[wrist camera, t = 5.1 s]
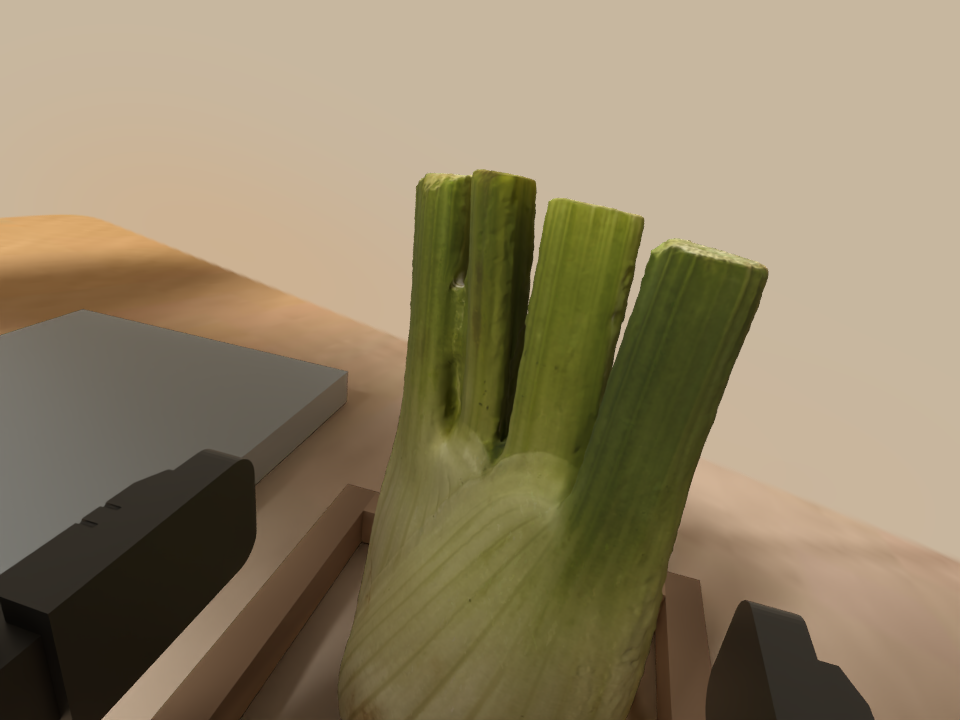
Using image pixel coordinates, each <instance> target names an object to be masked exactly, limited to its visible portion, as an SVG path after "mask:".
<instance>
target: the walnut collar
mask: <svg viewBox="0 0 960 720" xmlns="http://www.w3.org/2000/svg"><path fill="white" fill-rule="evenodd" d="M379 495H380V493H379V492H375V491H372V490H368V489H364V488H361V487H357V486H354V485H350V484H348V485H347V486H346V487H345V488H344V489H343V491H342V492H341V493H340V494H339V495H338V497H337V498H336V499H335V500H334V501H333V503H332V504H331V505H330V506H329V507H328V509H327V510H326V511H325V512H324V513H323V515H322V516H321V517H320V518H319V519H318V521H317V522H316V523H315V524H314V525H313V527H312V528H311V529H310V530H309V531H308V533H307V534H306V535H305V536H304V537H303V538H302V540H301V541H300V542H299V543H298V544H297V546H296V547H295V548H294V549H293V550H292V552H291V553H290V554H289V555H288V556H287V558H286V559H285V560H284V561H283V562H282V564H281V565H280V566H279V567H278V568H277V570H276V571H275V572H274V573H273V574H272V576H271V577H270V578H269V579H268V580H267V582H266V583H265V584H264V585H263V586H262V588H261V589H260V590H259V591H258V592H257V593H256V595H255V596H254V597H253V598H252V599H251V601H250V602H249V603H248V604H247V605H246V607H245V608H244V609H243V610H242V611H241V613H240V614H239V615H238V616H237V617H236V619H235V620H234V621H233V622H232V623H231V625H230V626H229V627H228V628H227V629H226V631H225V632H224V633H223V634H222V635H221V637H220V638H219V639H218V640H217V641H216V643H215V644H214V645H213V646H212V647H211V648H210V650H209V651H208V652H207V653H206V654H205V656H204V657H203V658H202V659H201V660H200V662H199V663H198V664H197V665H196V666H195V668H194V669H193V670H192V671H191V672H190V674H189V675H188V676H187V677H186V678H185V680H184V681H183V682H182V683H181V684H180V686H179V687H178V688H177V689H176V690H175V692H174V693H173V694H172V695H171V696H170V698H169V699H168V700H167V701H166V702H165V703H164V705H163V706H162V707H161V708H160V709H159V711H158V712H157V713H156V714H155V715H154V717H153V718H152V719H151V720H239V719H240V718H241V716H242V715H243V713H244V712H245V711H246V709H247V708H248V706H249V705H250V703H251V702H252V700H253V699H254V697H255V696H256V695H257V693H258V692H259V690H260V689H261V687H262V686H263V684H264V683H265V681H266V680H267V678H268V677H269V676H270V674H271V673H272V671H273V670H274V668H275V667H276V665H277V664H278V662H279V661H280V660H281V658H282V657H283V655H284V654H285V652H286V651H287V649H288V648H289V646H290V645H291V643H292V642H293V641H294V639H295V638H296V636H297V635H298V633H299V632H300V630H301V629H302V627H303V626H304V625H305V623H306V622H307V620H308V619H309V617H310V616H311V614H312V613H313V611H314V610H315V608H316V607H317V606H318V604H319V603H320V601H321V600H322V598H323V597H324V595H325V594H326V592H327V591H328V590H329V588H330V587H331V585H332V584H333V582H334V581H335V579H336V578H337V576H338V575H339V573H340V572H341V571H342V569H343V568H344V566H345V565H346V563H347V562H348V560H349V559H350V557H351V556H352V555H353V553H354V552H355V550H356V549H357V547H358V546H359V544H360V543H361V541H362V542H365V543H368V544H369V542H370V537H371V532H372V526H373V522H374V517H375V511H376V507H377V503H378V498H379ZM662 592H663V597H662V601H661V604H660V608H659V613H658V617H657V622H656V629H655V651H656V688H657V720H706V716H705V705H706V693H707V686H708V681H709V677H710V673H711V663H710V656H709V648H708V640H707V632H706V625H705V617H704V609H703V602H702V594H701V586H700V580H696V579H693V578H689V577H685V576H682V575H678V574H674V573H671V572H667V577H666V580H665V583H664V586H663V588H662Z"/></svg>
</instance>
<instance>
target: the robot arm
mask: <svg viewBox="0 0 960 720" xmlns="http://www.w3.org/2000/svg"><path fill="white" fill-rule="evenodd" d="M255 539H256V499H255V471H254V466H253V464H252V462H251V461H250V460H248V459H245V458H241V457H238V456H234V455H230V454H227V453H223V452H220V451H216V450H213V449H204V450H202V451H200V452H198V453H197V454H195V455H194V456H193V457H191V458H190V459H188V460H187V461H186V462H184V463H183V464H181V465H180V466H179V467H177V468H176V469H174V470H170V469H168V470H165V471H162V472H160V473H157V474H155V475H152V476H150V477H147V478H145V479H142V480H139V481H137V482H134V483H133V484H131V485H130V486H128V487H127V488H125V489H124V490H123V491H121V492H120V493H118V494H117V495H115V496H114V497H112V498H111V499H109V500H108V501H107V502H106V504H105V506H104V507H101V506H99V507H98V508H96V509H95V510H93V511H92V512H91V513H89V514H88V515H86V516H85V517H83V518H82V520H81V522H80V523H79V524H78V523H74V524H73V525H72V526H70V527H69V528H67V529H66V530H64V531H63V532H61V533H60V534H58V535H57V536H56V537H54V538H53V539H51V540H50V541H48V542H47V543H45V544H44V545H42V546H41V547H40V548H38V549H37V550H35V551H34V552H32V553H31V554H29V555H28V556H26V557H25V558H23V559H22V560H21V561H19V562H18V563H16V564H15V565H13V566H12V567H10V568H9V569H7V570H6V571H5V572H3V573H2V574H0V720H101V719H102V718H103V717H104V716H105V715H106V714H107V713H108V712H109V711H110V709H111V708H112V707H113V706H114V705H115V704H116V703H117V702H118V701H119V700H120V699H121V698H122V697H123V695H124V694H125V693H126V692H127V691H128V690H129V689H130V688H131V687H132V686H133V685H134V684H135V682H136V681H137V680H138V679H139V678H140V677H141V676H142V675H143V674H144V673H145V672H146V671H147V669H148V668H149V667H150V666H151V665H152V664H153V663H154V662H155V661H156V660H157V659H158V658H159V657H160V655H161V654H162V653H163V652H164V651H165V650H166V649H167V648H168V647H169V646H170V645H171V644H172V642H173V641H174V640H175V639H176V638H177V637H178V636H179V635H180V634H181V633H182V632H183V631H184V630H185V628H186V627H187V626H188V625H189V624H190V623H191V622H192V621H193V620H194V619H195V618H196V617H197V615H198V614H199V613H200V612H201V611H202V610H203V609H204V608H205V607H206V606H207V605H208V604H209V602H210V601H211V600H212V599H213V598H214V597H215V596H216V595H217V594H218V593H219V592H220V591H221V590H222V588H223V587H224V586H225V585H226V584H227V583H228V582H229V581H230V580H231V579H232V578H233V577H234V575H235V574H236V573H237V572H238V571H239V570H240V569H241V568H242V567H243V565H244V564H245V562H246V561H247V559H248V557H249V555H250V553H251V551H252V549H253V546H254V543H255ZM705 716H706V720H874V717H873V715H872V712H871V710H870V707H869V705H868V704H867V702H866V701H865V700H864V698H863V697H862V696H861V695H860V693H859V692H858V691H857V689H856V688H855V687H854V685H853V684H852V683H851V682H850V680H849V679H848V678H847V676H846V675H845V674H844V672H843V671H842V670H841V668H840V667H839V666H836V665H833V664H829V663H826V662H822V661H819V660H818V659H817V656H816V653H815V650H814V647H813V644H812V641H811V638H810V635H809V632H808V629H807V626H806V623H805V621H804V620H803V618H802V617H801V616H800V615H797V614H794V613H790V612H787V611H783V610H779V609H776V608H772V607H769V606H765V605H762V604H758V603H754V602H751V601H747V600H743V601H741V603H740V604H739V605H738V607H737V609H736V611H735V614H734V616H733V619H732V621H731V624H730V626H729V628H728V631H727V633H726V636H725V638H724V641H723V643H722V646H721V648H720V651H719V653H718V656H717V658H716V661H715V663H714V665H713V668H712V671H711V673H710V677H709V681H708V686H707V693H706V705H705Z"/></svg>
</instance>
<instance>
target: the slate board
mask: <svg viewBox="0 0 960 720" xmlns="http://www.w3.org/2000/svg"><path fill="white" fill-rule="evenodd" d="M347 383H348V371H344V370H339V369H335V368H331V367H327V366H322V365H318V364H314V363H310V362H305V361H301V360H297V359H293V358H288V357H284V356H280V355H276V354H271V353H267V352H263V351H259V350H254V349H250V348H246V347H242V346H237V345H233V344H229V343H225V342H220V341H216V340H212V339H208V338H203V337H199V336H195V335H191V334H186V333H182V332H178V331H174V330H169V329H165V328H161V327H157V326H152V325H148V324H144V323H140V322H135V321H131V320H127V319H123V318H118V317H114V316H110V315H105V314H101V313H97V312H93V311H88V310H84V309H82V310H79V311H76V312H72V313H69V314H66V315H63V316H60V317H57V318H53V319H50V320H47V321H44V322H41V323H38V324H34V325H31V326H28V327H25V328H22V329H18V330H15V331H12V332H9V333H6V334H3V335H0V574H2V573H3V572H5V571H6V570H7V569H9V568H10V567H12V566H13V565H15V564H16V563H18V562H19V561H21V560H22V559H23V558H25V557H26V556H28V555H29V554H31V553H32V552H34V551H35V550H37V549H38V548H40V547H41V546H42V545H44V544H45V543H47V542H48V541H50V540H51V539H53V538H54V537H56V536H57V535H58V534H60V533H61V532H63V531H64V530H66V529H67V528H69V527H70V526H72V525H73V524H74V523H78V524H79V523H80V522H81V520H82V518H83V517H85V516H86V515H88V514H89V513H91V512H92V511H93V510H95V509H96V508H98V507H99V506H101V507H104V506H105V504H106V502H107V501H108V500H109V499H111V498H112V497H114V496H115V495H117V494H118V493H120V492H121V491H123V490H124V489H125V488H127V487H128V486H130V485H131V484H133V483H134V482H137V481H139V480H142V479H145V478H147V477H150V476H152V475H155V474H157V473H160V472H162V471H165V470H168V469H170V470H174V469H176V468H177V467H179V466H180V465H181V464H183V463H184V462H186V461H187V460H188V459H190V458H191V457H193V456H194V455H195V454H197V453H198V452H200V451H202V450H204V449H213V450H216V451H220V452H223V453H227V454H230V455H234V456H238V457H241V458H245V459H248V460H250V461H251V462H252V464H253V466H254V471H255V485H256V484H257V483H258V482H259V481H260V480H261V479H262V478H263V477H265V476H266V475H267V474H268V473H269V472H270V471H271V470H272V469H273V468H274V467H276V466H277V465H278V464H279V463H280V462H281V461H282V460H283V459H284V458H285V457H286V456H288V455H289V454H290V453H291V452H292V451H293V450H294V449H295V448H296V447H297V446H299V445H300V444H301V443H302V442H303V441H304V440H305V439H306V438H307V437H308V436H310V435H311V434H312V433H313V432H314V431H315V430H316V429H317V428H318V427H319V426H321V425H322V424H323V423H324V422H325V421H326V420H327V419H328V418H329V417H330V416H331V415H333V414H334V413H335V412H336V411H337V410H338V409H339V408H340V407H341V406H342V405H344V404H345V403H346V402H347Z"/></svg>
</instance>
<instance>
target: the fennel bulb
mask: <svg viewBox="0 0 960 720" xmlns="http://www.w3.org/2000/svg"><path fill="white" fill-rule="evenodd" d="M535 200H536V182H535V181H534V180H532V179H529V178H525V177H523V176H518V175H512V174H508V173H502V172H496V171H488V170H484V169H483V170H476V171H474V172H473V175H467V176H463V175H454V174H441V173H438V174H436V173H429V174H426V175H425V177H424V178H422V179H421V180H420V181H419V183H418V185H417V186H416V208H415V233H414V247H413V261H412V262H413V263H412V266H413V272H412V291H411V292H412V293H411V303H410V306H411V317H410V330H409V337H408V347H407V348H408V349H407V357H406V370H405V376H404V381H405V383H404V392H403V400H402V406H401V412H400V417H399V423H398V429H397V433H396V437H395V441H394V444H393V448H392V453H391V456H390V460H389V463H388V465H387V469H386V473H385V478H384V480H383V483H382V486H381V492H380V495H379V498H378V503H377V507H376V511H375V517H374V522H373V526H372V532H371V537H370V542H369V548H368V553H367V559H366V564H365V568H364V573H363V578H362V582H361V588H360V591H359V595H358V602H357V609H356V613H355V618H354V622H353V627H352V630H351V633H350V636H349V639H348V641H347V645H346V648H345V653H344V656H343V659H342V662H341V667H340V672H339V681H338V700H339V714H340V718H341V720H626V718H627V716H628V713H629V711H630V708H631V704H632V703H633V701H634V698H635V694H636V692H637V689H638V686H639V683H640V679H641V678H642V676H643V673H644V666H645V662H646V659H647V657H648V654H649V652H650V644H651V642H652V637H653V634H654V631H655V629H656V622H657V617H658V613H659V608H660V604H661V601H662V597H663V592H662V588H663V586H664V583H665V580H666V577H667V569H668V561H669V558H670V555H671V553H672V551H673V546H674V543H675V540H676V536H677V531H678V528H679V525H680V522H681V517H682V514H683V510H684V507H685V504H686V500H687V496H688V492H689V488H690V485H691V482H692V479H693V475H694V472H695V469H696V467H697V464H698V461H699V459H700V456H701V452H702V449H703V446H704V444H705V441H706V439H707V436H708V434H709V432H710V429H711V427H712V425H713V423H714V420H715V417H716V413H717V409H718V406H719V404H720V401H721V399H722V396H723V393H724V390H725V388H726V386H727V383H728V380H729V376H730V374H731V371H732V368H733V366H734V364H735V361H736V359H737V357H738V355H739V352H740V350H741V347H742V345H743V343H744V340H745V337H746V335H747V333H748V332H749V329H750V326H751V323H752V321H753V319H754V315H755V313H756V312H757V309H758V307H759V304H760V300H761V297H762V292H763V289H764V287H765V285H766V282H767V279H768V269H767V268H766V267H765V266H764V265H762V264H760V263H758V262H756V261H752V260H749V259H746V258H742V257H740V256H737V255H733V254H729V253H727V252H725V251H719V250H717V249H715V248H709V247H706V246H702V245H699V244H695V243H692V242H691V241H689V240H688V241H687V240H681V239H676V238H674V239H669V240H667V242H664V243H662V244H661V245H660V246H658V247H657V248H655V249H654V250H651V256H650V259H649V262H648V263H647V265H646V269H645V275H644V277H643V278H642V281H641V287H640V292H639V294H638V297H637V300H636V303H635V306H634V309H633V312H632V314H631V316H630V318H629V321H628V325H627V327H626V330H625V333H624V337H623V340H622V343H621V345H620V348H619V351H618V354H617V357H616V360H615V363H614V365H613V360H614V353H615V348H616V344H617V341H618V338H619V335H620V329H621V324H622V322H623V321H624V318H625V312H626V307H627V300H628V296H629V292H630V288H631V284H632V281H633V277H634V271H635V262H636V258H637V254H638V249H639V246H640V242H641V237H642V232H643V229H644V218H643V217H642V216H640V215H636V214H631V213H625V212H622V211H618V210H617V209H613V208H607V207H604V206H598V205H593V204H588V203H584V202H578V201H575V200H570V199H566V198H556V199H552V200H551V201H549V202H548V209H547V213H546V216H545V221H544V226H543V233H542V238H541V242H540V247H539V259H538V263H537V267H536V272H535V276H534V282H533V290H532V294H531V297H530V299H529V292H530V272H531V267H532V262H533V251H534V220H535V214H536V210H535V207H536V204H535ZM528 301H529V305H528ZM527 311H528V314H527ZM612 365H613V367H612Z"/></svg>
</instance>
